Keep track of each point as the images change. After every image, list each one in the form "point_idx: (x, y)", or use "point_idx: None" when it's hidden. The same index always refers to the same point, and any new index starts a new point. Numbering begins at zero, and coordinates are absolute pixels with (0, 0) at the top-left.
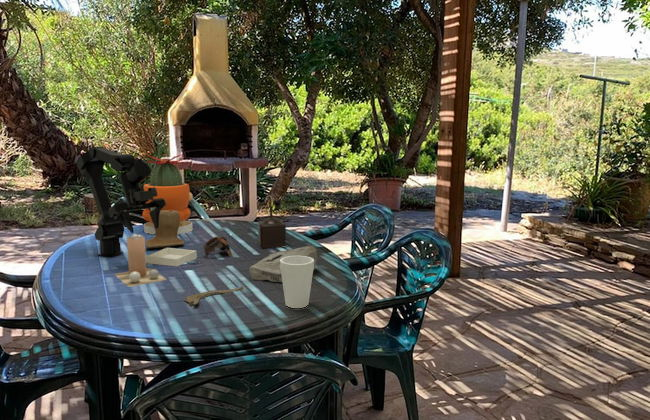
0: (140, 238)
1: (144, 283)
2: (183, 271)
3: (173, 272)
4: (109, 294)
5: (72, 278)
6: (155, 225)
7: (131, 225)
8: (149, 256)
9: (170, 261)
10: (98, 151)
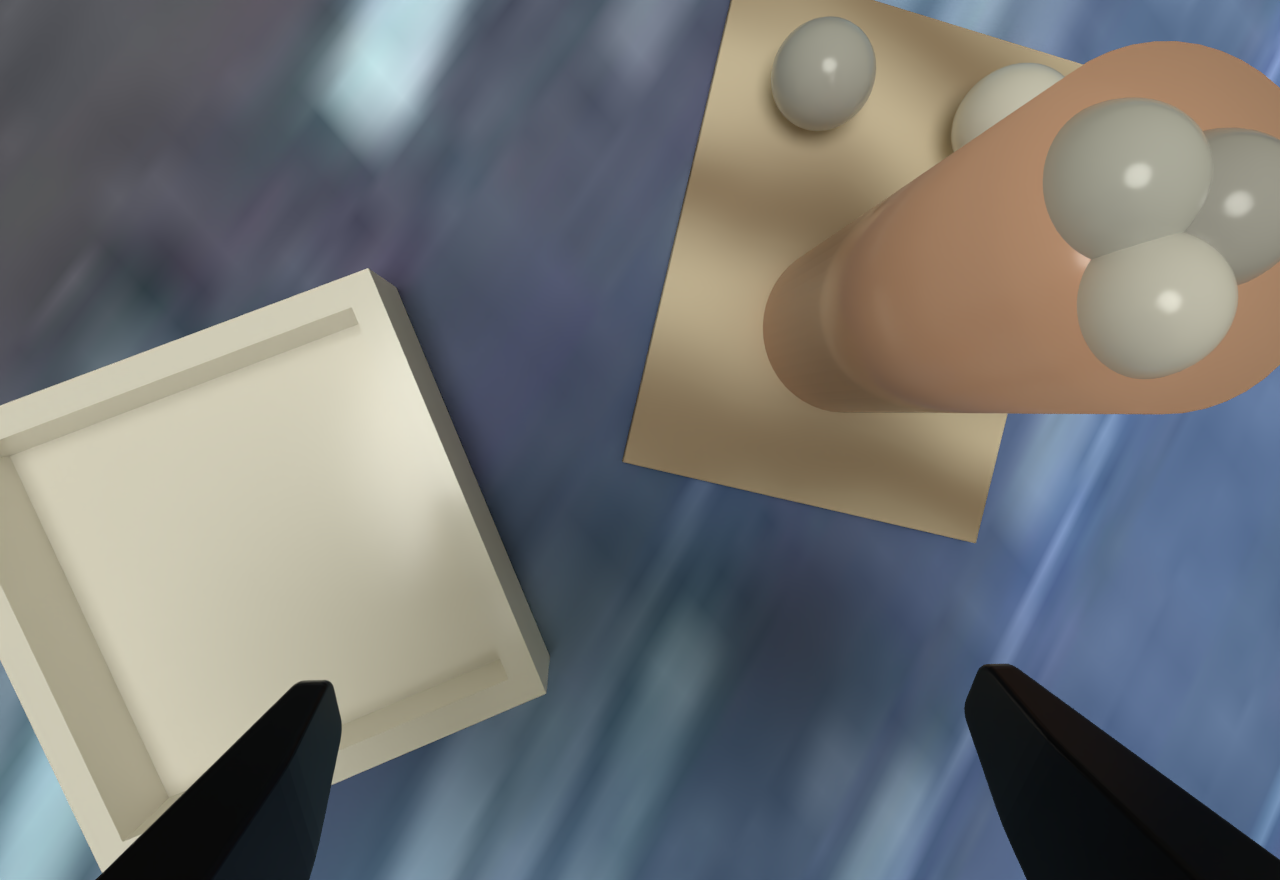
0: (1147, 84)
1: (948, 37)
2: (429, 120)
3: (524, 174)
4: (1254, 64)
5: (1235, 727)
6: (313, 799)
7: (1131, 789)
8: (526, 646)
9: (414, 363)
10: None
